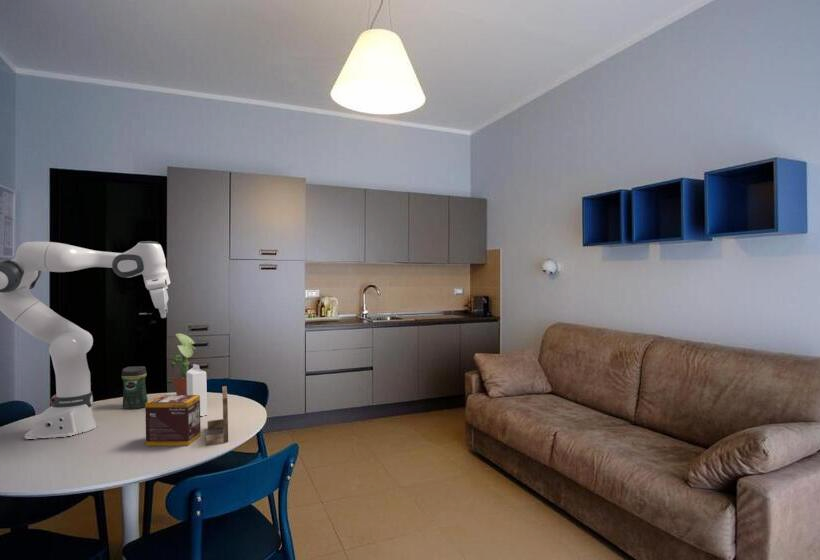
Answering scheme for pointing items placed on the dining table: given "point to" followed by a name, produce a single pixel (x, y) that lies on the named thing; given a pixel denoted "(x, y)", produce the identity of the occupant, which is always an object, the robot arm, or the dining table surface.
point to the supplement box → (172, 420)
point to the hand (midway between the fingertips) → (164, 315)
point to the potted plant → (182, 363)
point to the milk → (198, 386)
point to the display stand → (219, 424)
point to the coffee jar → (134, 387)
